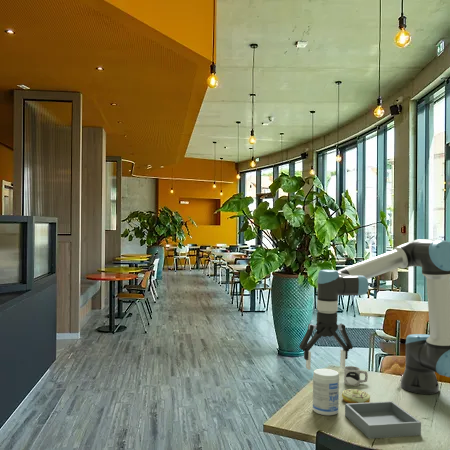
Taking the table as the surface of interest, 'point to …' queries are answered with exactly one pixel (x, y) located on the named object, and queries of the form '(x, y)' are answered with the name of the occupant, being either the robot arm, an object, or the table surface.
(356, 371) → the mug
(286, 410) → the table surface
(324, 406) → the supplement tub
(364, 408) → the bin
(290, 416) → the table surface
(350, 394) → the decorated donut
